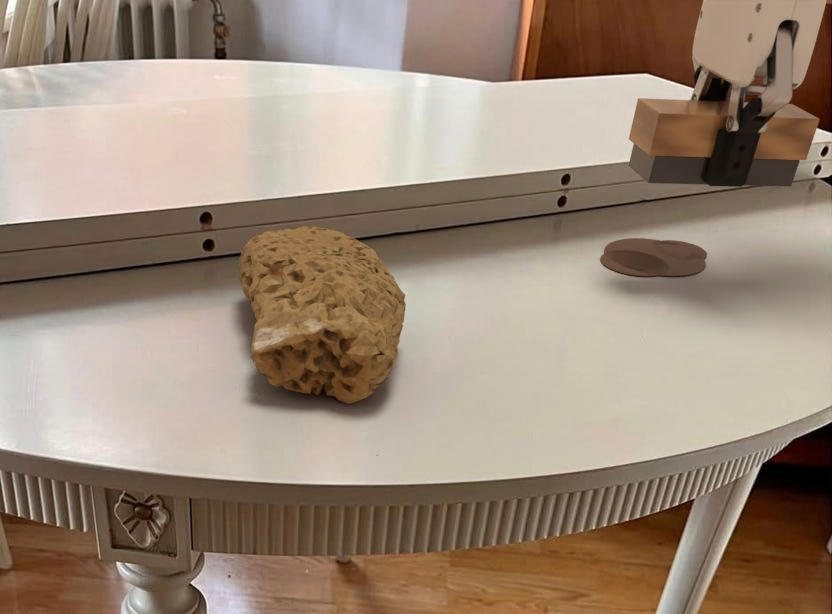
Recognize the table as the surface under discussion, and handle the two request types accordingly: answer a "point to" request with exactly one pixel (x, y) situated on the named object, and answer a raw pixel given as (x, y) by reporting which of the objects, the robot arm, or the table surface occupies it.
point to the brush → (713, 142)
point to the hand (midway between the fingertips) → (710, 172)
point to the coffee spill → (653, 257)
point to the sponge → (321, 311)
